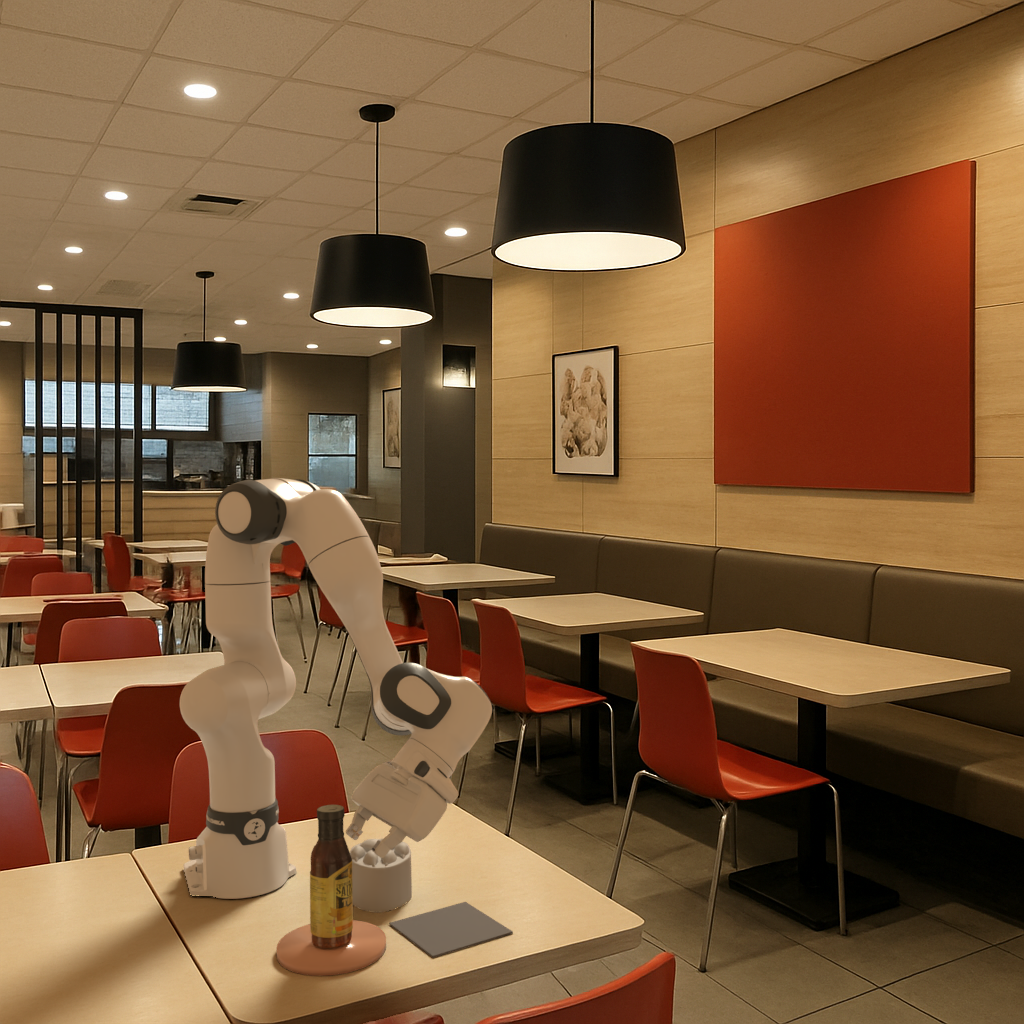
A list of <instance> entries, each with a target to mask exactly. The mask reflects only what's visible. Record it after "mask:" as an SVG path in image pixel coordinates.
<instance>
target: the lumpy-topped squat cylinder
mask: <svg viewBox="0 0 1024 1024" xmlns="http://www.w3.org/2000/svg"><path fill="white" fill-rule="evenodd" d="M384 838H385V837H384ZM384 838H368V839H365V840H364V841H362V842H360V843H358V844H355V845H353V846H352V847H351V848H350V850H349V852H350V855H351V858H352V881H353V906H354V907H355V908H357V909H359V910H361V911H365V912H369V911H370V913H385V912H384V911H387V912H390V911H389V910H391V911H394V910H396V909H395V908H397V907H399V908H401V907H403V906H404V905H406V904H407V903H408V902H410V900H412V895H413V890H412V889H413V886H412V884H413V883H412V879H413V878H412V851H411V847H410V846H409V844H408V843H407V842H405V841H402V842H401V843H400V844H398V845H397V846H395V847H394V848H392V849H390V850H389V852H388V853H387V854H386V856H385V857H384V858H380V857H379V856H378V855H376V854H375V853H374V852H373V851H372V848H373V846H374V845H375V844H376V842H377V841H378V840H379V841H381V840H383V839H384ZM407 901H408V902H407ZM406 902H407V903H406ZM405 903H406V904H405ZM403 904H404V905H403ZM402 905H403V906H402ZM400 906H401V907H400ZM393 909H394V910H393ZM397 909H398V908H397Z"/></svg>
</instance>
